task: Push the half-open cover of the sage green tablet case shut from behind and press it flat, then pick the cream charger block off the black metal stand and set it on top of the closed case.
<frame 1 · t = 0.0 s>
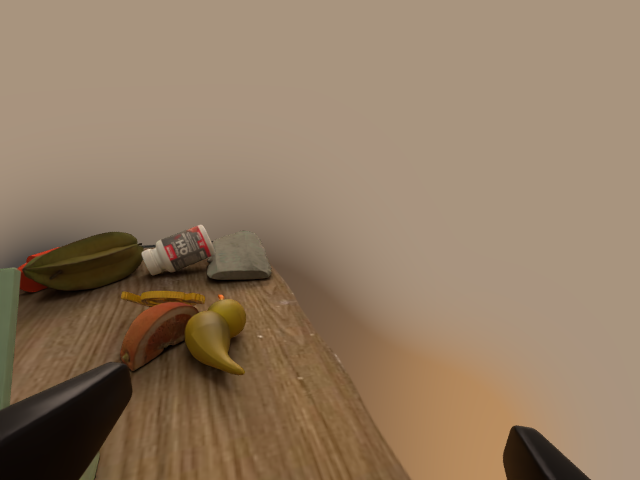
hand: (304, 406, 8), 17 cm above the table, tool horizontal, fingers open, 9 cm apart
logo: (135, 300, 39), point 2 cm above the table, touching fruit slice
yellow tapered piece: (183, 342, 33), point 2 cm above the table
fruit: (81, 256, 48), point 3 cm above the table
stone slab: (207, 256, 58), on the table, touching pill bottle
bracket: (66, 267, 47), point 2 cm above the table
pill bottle: (210, 238, 54), point 5 cm above the table, touching stone slab
fruit slice: (144, 308, 35), point 4 cm above the table, touching logo
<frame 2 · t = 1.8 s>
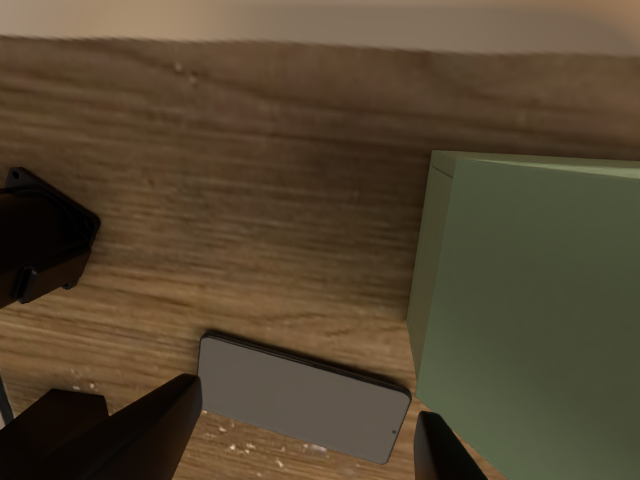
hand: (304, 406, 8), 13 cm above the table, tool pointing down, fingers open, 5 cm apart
case: (532, 253, 18), on the table
smartphone: (298, 391, 24), on the table
stand: (83, 415, 29), on the table
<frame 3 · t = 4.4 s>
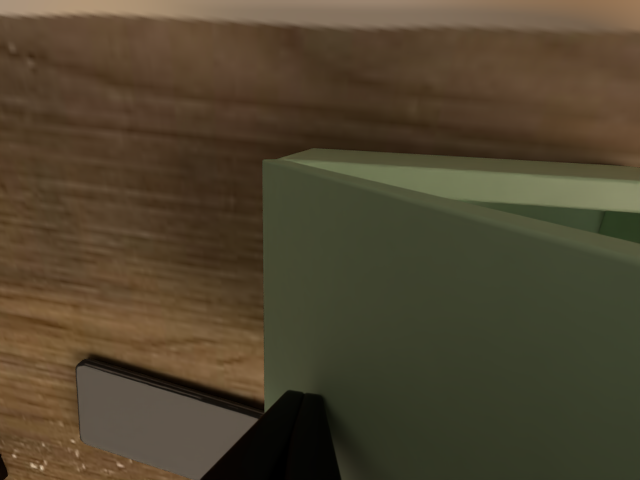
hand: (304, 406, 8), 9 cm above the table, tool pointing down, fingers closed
case: (439, 272, 15), on the table
smartphone: (195, 425, 21), on the table
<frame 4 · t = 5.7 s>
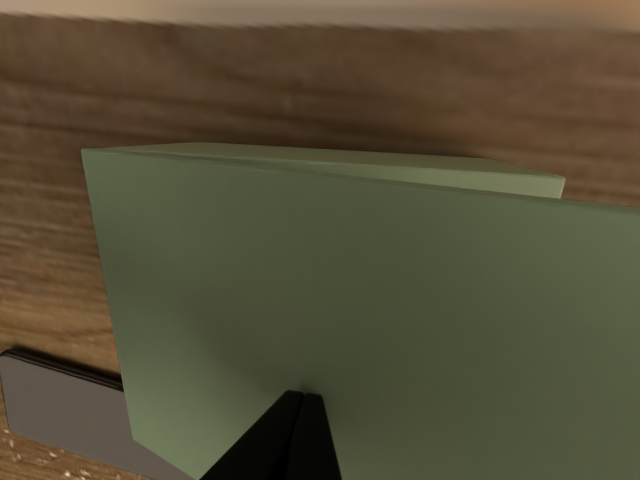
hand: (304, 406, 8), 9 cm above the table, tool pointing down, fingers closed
case: (328, 262, 16), on the table
smartphone: (119, 414, 22), on the table
cover: (286, 383, 8), point 8 cm above the table, hinge at 17.8°, touching gripper
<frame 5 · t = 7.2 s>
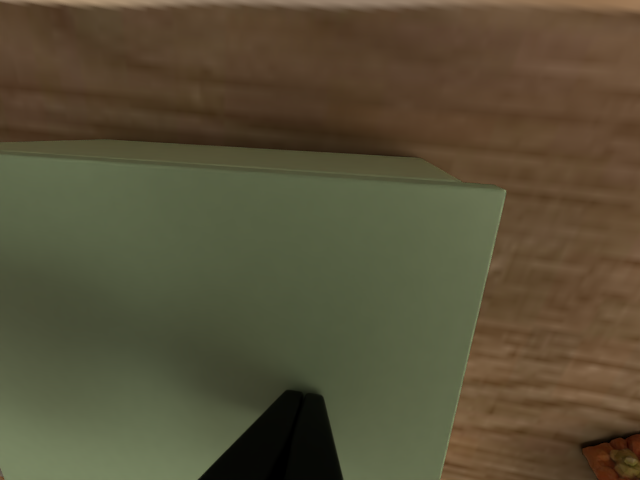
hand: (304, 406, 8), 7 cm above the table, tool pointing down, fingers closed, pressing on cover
case: (255, 274, 14), on the table
cover: (181, 375, 8), point 6 cm above the table, hinge at 0.6°, touching gripper
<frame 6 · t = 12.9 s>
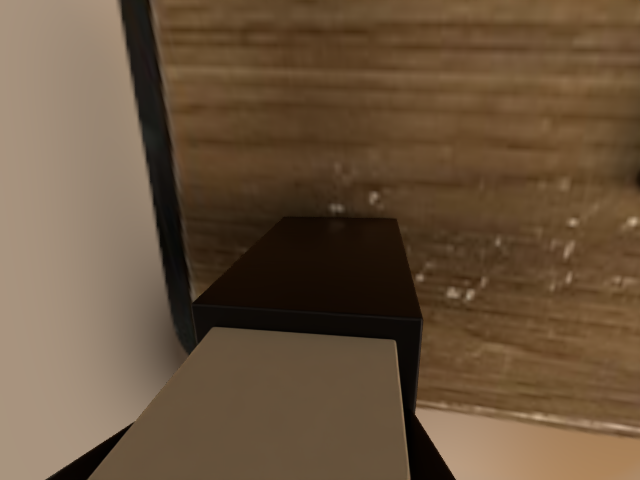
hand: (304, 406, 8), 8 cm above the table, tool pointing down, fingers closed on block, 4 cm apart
block: (303, 405, 8), point 8 cm above the table, touching gripper, stand
stand: (338, 269, 15), on the table
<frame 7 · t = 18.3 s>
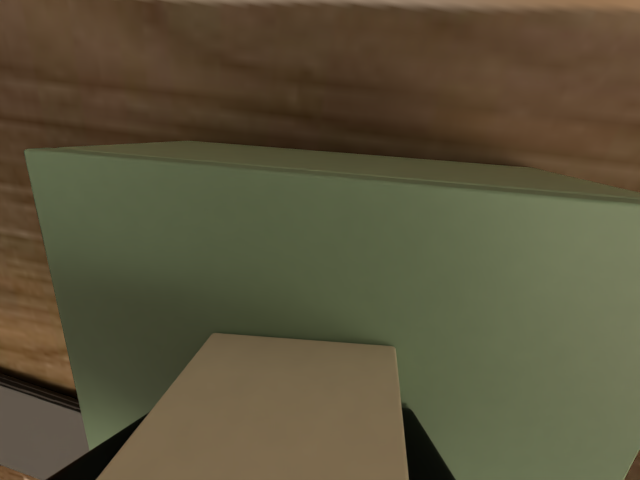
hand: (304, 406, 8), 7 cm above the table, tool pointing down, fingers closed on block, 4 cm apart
block: (303, 411, 8), point 7 cm above the table, touching gripper
case: (337, 283, 14), on the table
smartphone: (98, 441, 19), on the table
cover: (319, 397, 8), point 6 cm above the table, hinge at 0.5°, touching gripper
when the fingers open (8 cm above the table, at t = 25.1 s): block drops 1 cm, resting on cover.
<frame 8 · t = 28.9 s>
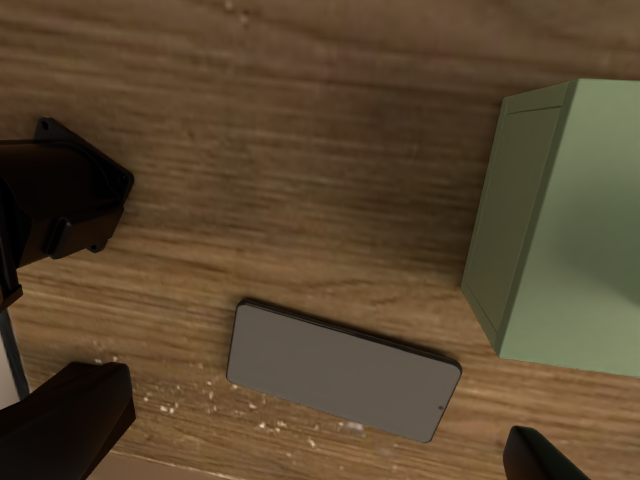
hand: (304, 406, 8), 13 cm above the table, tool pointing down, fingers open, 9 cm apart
case: (604, 213, 17), on the table
smartphone: (336, 365, 23), on the table
stand: (104, 390, 27), on the table
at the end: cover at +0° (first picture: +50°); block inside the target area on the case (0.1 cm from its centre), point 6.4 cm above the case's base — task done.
